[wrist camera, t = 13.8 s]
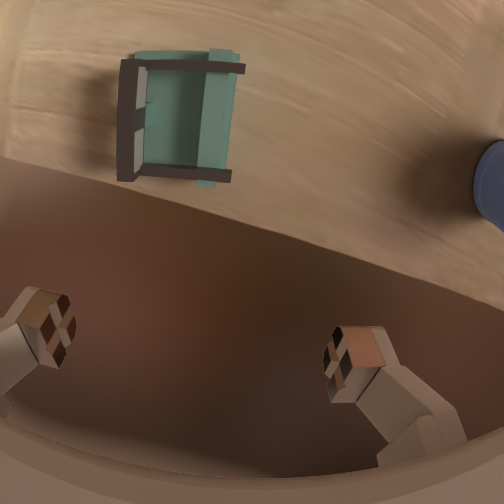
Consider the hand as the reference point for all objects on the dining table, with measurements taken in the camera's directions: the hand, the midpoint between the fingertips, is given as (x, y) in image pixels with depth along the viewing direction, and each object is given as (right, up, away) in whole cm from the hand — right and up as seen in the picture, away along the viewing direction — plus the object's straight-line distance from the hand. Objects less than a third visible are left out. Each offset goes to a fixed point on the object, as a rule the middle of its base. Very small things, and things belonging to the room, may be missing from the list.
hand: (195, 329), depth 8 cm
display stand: (-8, +20, +27) cm, 35 cm away
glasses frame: (-6, +18, +23) cm, 30 cm away
